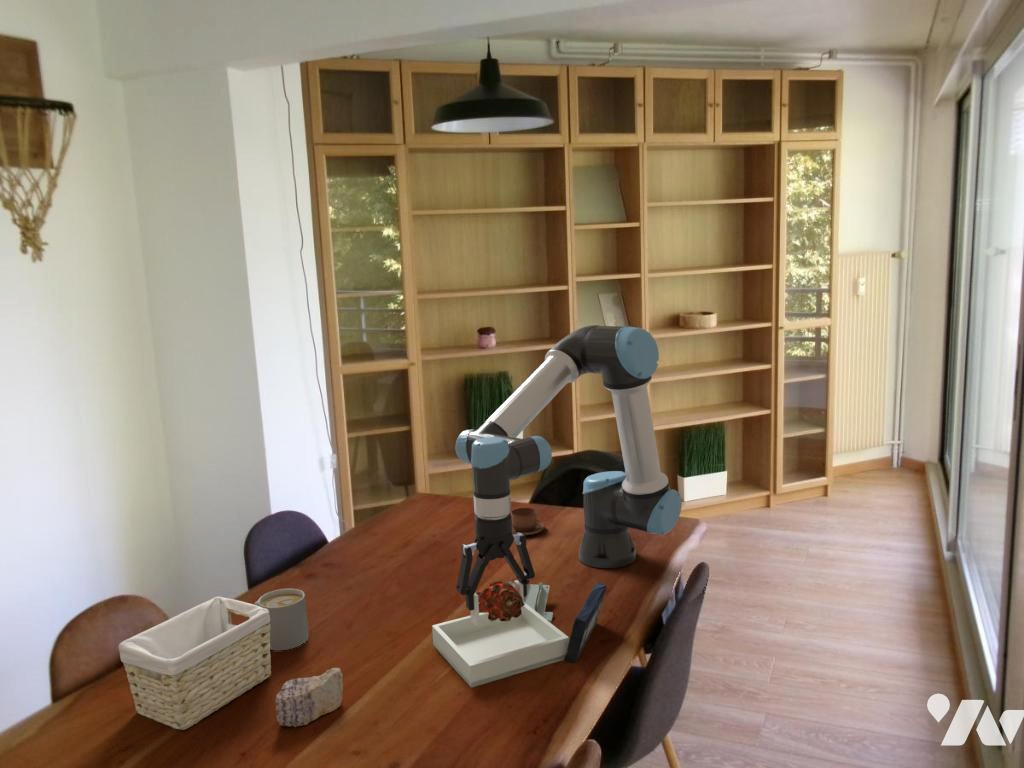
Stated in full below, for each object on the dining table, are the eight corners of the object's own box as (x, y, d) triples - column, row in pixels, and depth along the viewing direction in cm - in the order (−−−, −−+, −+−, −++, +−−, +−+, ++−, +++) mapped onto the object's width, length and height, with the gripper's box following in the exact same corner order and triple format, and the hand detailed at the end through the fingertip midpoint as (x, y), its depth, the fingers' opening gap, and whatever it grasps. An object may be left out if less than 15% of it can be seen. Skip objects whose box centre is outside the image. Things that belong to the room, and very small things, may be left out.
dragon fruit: (523, 634, 166) (479, 628, 174) (539, 598, 171) (495, 594, 179) (502, 611, 162) (458, 605, 170) (519, 575, 167) (475, 571, 175)
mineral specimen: (326, 690, 160) (323, 657, 159) (350, 703, 155) (347, 670, 154) (263, 721, 150) (259, 687, 149) (286, 737, 145) (283, 701, 144)
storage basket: (179, 739, 146) (169, 662, 144) (123, 715, 154) (113, 642, 152) (280, 676, 166) (273, 607, 164) (226, 658, 175) (218, 593, 172)
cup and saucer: (507, 524, 250) (507, 505, 249) (547, 525, 248) (546, 505, 247) (501, 538, 239) (500, 518, 238) (542, 539, 237) (541, 518, 236)
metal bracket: (496, 574, 198) (558, 577, 195) (498, 593, 201) (559, 596, 198) (484, 615, 186) (550, 619, 183) (487, 635, 188) (552, 638, 185)
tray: (524, 620, 186) (523, 601, 185) (569, 658, 168) (568, 637, 167) (433, 645, 176) (432, 625, 175) (471, 687, 158) (469, 666, 158)
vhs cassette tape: (575, 665, 166) (586, 622, 163) (561, 660, 167) (572, 616, 164) (598, 625, 183) (609, 586, 180) (586, 621, 184) (596, 581, 181)
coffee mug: (317, 637, 182) (314, 595, 180) (279, 656, 174) (275, 611, 173) (281, 622, 190) (277, 581, 189) (244, 639, 183) (239, 596, 181)
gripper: (532, 499, 175) (536, 599, 179) (435, 518, 166) (441, 623, 169) (549, 509, 169) (553, 611, 172) (449, 529, 159) (455, 637, 163)
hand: (497, 617), depth 171 cm, fingers closed on dragon fruit, 9 cm apart
